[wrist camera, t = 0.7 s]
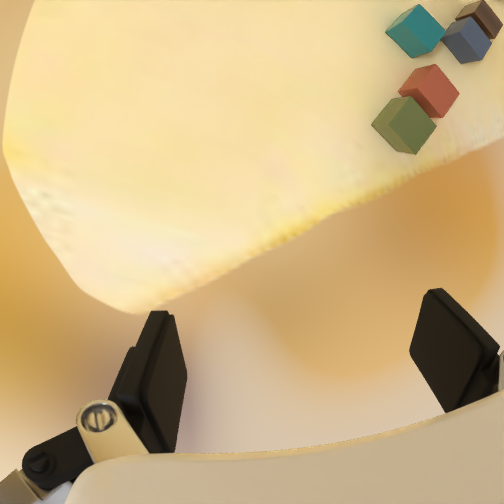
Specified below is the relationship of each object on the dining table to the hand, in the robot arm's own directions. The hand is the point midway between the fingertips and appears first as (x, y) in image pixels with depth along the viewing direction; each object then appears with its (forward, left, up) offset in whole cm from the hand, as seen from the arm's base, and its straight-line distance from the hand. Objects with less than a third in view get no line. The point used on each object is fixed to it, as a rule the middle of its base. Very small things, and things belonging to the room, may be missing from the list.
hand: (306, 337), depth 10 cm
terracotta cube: (-12, +23, -28) cm, 38 cm away
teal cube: (-20, +23, -28) cm, 41 cm away
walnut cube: (-25, +37, -28) cm, 53 cm away
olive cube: (-7, +18, -28) cm, 34 cm away
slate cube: (-21, +32, -28) cm, 47 cm away
